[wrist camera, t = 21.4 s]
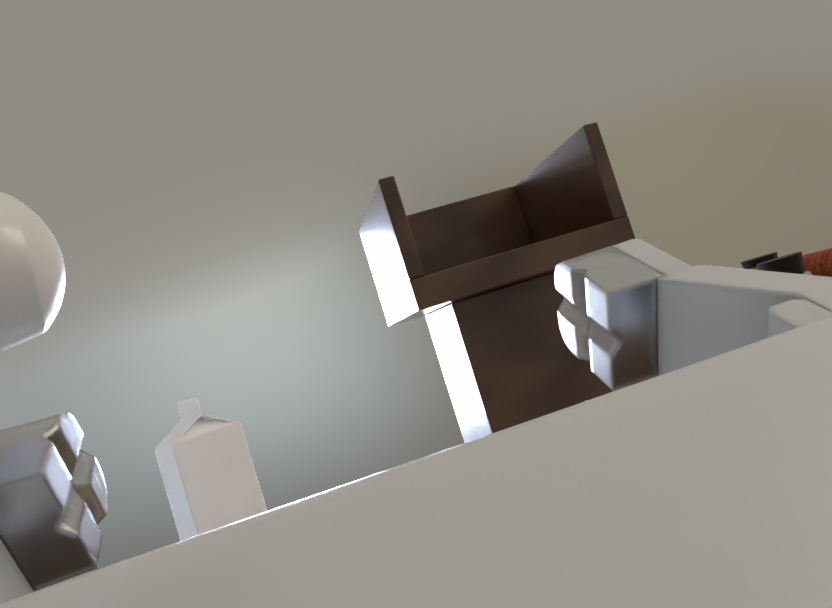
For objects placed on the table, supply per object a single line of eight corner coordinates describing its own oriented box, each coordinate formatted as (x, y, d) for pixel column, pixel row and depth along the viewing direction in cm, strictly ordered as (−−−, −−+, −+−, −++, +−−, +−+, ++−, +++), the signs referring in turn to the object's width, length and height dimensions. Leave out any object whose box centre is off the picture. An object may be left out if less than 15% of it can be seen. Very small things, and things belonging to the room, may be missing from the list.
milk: (240, 679, 52) (158, 408, 53) (215, 662, 57) (141, 414, 58) (307, 638, 56) (230, 385, 57) (278, 625, 61) (208, 393, 61)
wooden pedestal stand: (567, 785, 30) (378, 179, 32) (494, 668, 42) (358, 231, 43) (783, 685, 32) (597, 121, 34) (655, 601, 44) (522, 185, 45)
